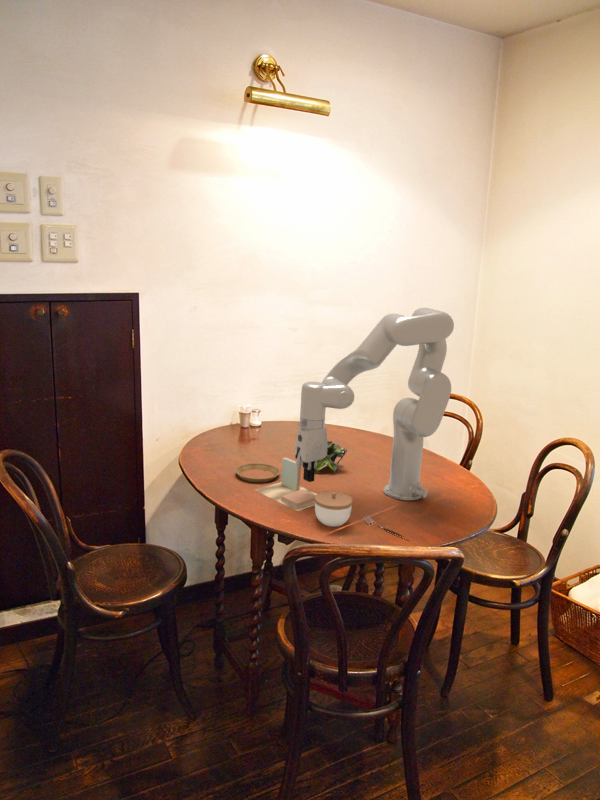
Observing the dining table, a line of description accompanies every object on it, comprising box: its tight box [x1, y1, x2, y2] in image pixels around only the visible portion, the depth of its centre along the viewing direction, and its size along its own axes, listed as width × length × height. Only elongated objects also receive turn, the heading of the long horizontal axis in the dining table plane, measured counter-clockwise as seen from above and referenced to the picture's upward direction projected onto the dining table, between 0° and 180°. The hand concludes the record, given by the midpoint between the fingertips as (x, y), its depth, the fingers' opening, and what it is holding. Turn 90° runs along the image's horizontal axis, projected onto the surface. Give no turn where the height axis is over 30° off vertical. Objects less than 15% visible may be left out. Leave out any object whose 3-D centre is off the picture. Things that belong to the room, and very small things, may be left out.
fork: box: [362, 514, 403, 538], centre depth 175 cm, size 3×16×2 cm, turn 44°
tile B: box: [280, 456, 302, 491], centre depth 200 cm, size 7×2×9 cm, turn 44°
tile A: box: [281, 489, 316, 508], centre depth 190 cm, size 7×2×9 cm
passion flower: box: [315, 440, 348, 474], centre depth 217 cm, size 13×12×14 cm
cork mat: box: [254, 481, 318, 512], centre depth 195 cm, size 20×14×1 cm
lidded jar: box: [314, 490, 354, 528], centre depth 176 cm, size 11×11×9 cm
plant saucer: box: [235, 462, 281, 483], centre depth 209 cm, size 15×15×3 cm
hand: (308, 480), depth 191 cm, fingers closed
